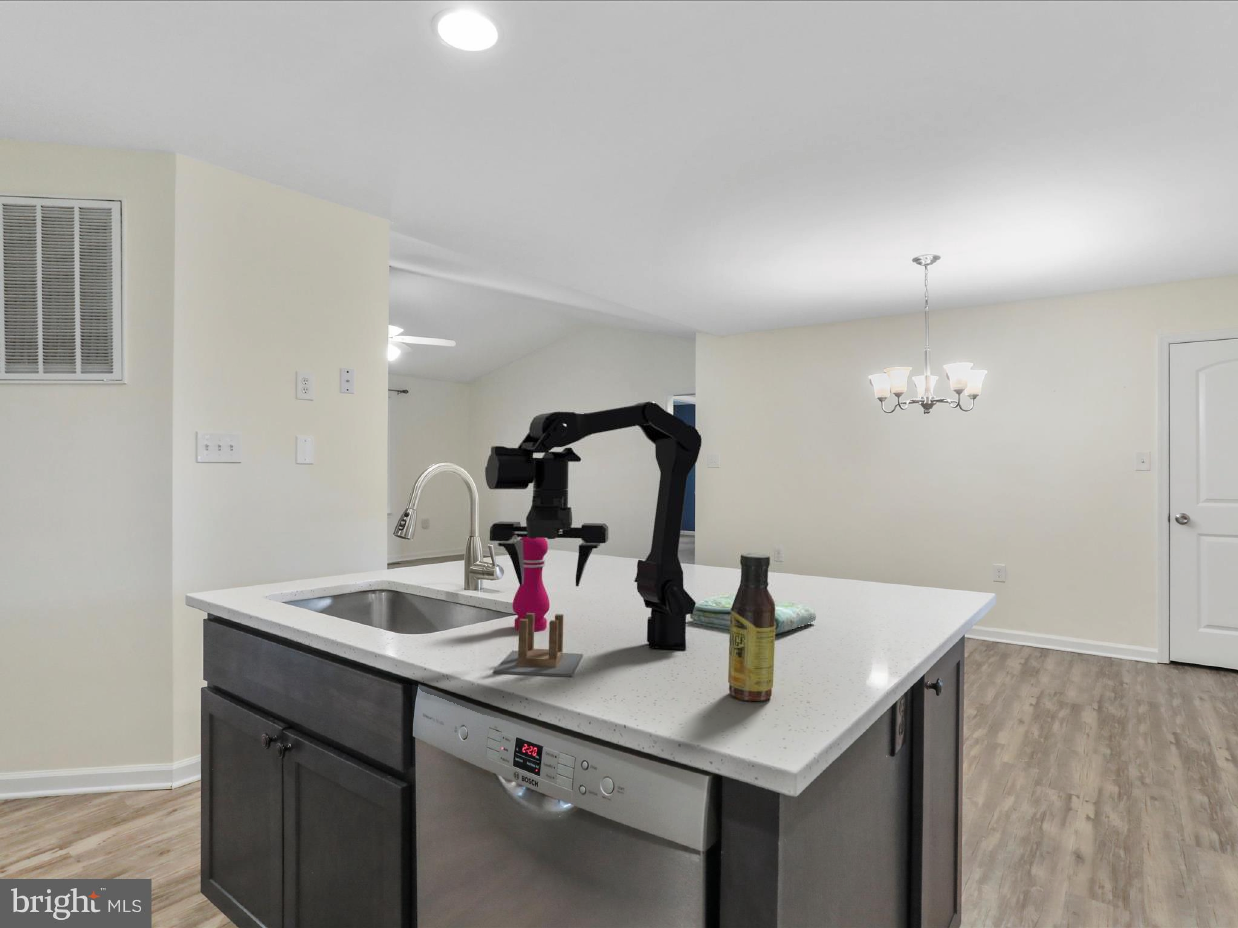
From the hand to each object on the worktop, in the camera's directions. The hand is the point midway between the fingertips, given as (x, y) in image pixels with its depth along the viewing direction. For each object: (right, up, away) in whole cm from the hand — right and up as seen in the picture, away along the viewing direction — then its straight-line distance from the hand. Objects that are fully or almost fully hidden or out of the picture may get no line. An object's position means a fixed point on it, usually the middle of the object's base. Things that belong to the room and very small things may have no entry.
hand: (549, 585), depth 113 cm
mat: (-1, -12, -2) cm, 12 cm away
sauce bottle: (+30, -13, -16) cm, 36 cm away
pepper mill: (-6, -13, +23) cm, 27 cm away
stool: (-1, -12, -2) cm, 12 cm away
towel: (+39, -14, +33) cm, 53 cm away
